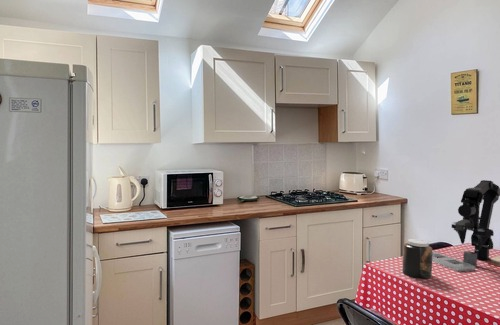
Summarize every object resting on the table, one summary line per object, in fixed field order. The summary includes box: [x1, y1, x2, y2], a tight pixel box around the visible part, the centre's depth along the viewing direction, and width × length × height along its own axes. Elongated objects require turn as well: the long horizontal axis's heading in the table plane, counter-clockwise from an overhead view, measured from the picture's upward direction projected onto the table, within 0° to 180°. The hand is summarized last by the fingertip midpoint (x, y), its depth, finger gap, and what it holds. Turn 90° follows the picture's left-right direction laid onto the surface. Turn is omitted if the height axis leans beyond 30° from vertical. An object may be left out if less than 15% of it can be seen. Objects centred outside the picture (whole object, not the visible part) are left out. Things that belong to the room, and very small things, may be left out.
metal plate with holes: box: [432, 250, 476, 273], centre depth 178 cm, size 10×24×2 cm, turn 18°
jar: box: [402, 238, 433, 280], centre depth 160 cm, size 12×12×15 cm
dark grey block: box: [462, 250, 478, 267], centre depth 176 cm, size 4×4×6 cm
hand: (470, 246), depth 176 cm, fingers open, 9 cm apart
